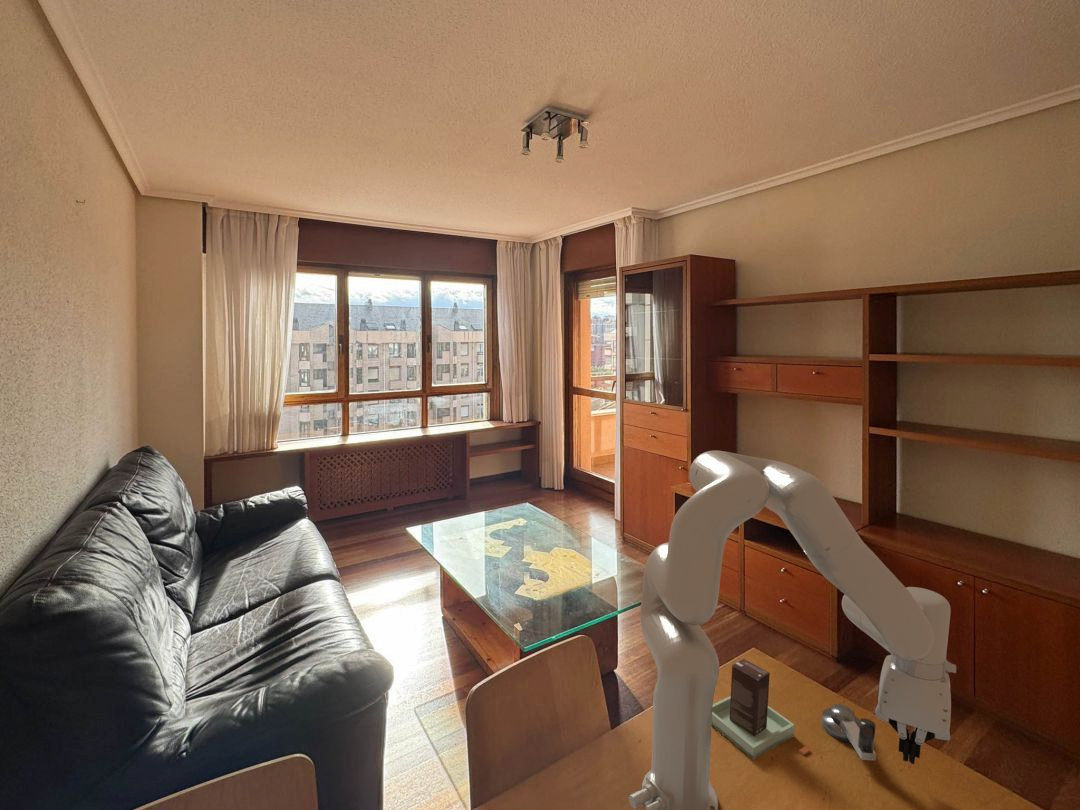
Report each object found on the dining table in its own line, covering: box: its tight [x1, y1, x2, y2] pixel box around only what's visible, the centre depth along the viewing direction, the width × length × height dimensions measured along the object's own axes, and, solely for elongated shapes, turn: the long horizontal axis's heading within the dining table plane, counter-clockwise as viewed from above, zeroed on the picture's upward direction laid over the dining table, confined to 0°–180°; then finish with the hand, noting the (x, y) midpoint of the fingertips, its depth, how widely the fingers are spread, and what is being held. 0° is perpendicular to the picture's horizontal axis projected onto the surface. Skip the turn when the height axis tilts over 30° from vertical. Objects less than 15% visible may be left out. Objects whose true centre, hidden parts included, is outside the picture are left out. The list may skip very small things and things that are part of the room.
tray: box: [712, 695, 795, 761], centre depth 105 cm, size 12×12×2 cm
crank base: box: [798, 707, 861, 756], centre depth 102 cm, size 16×7×2 cm, turn 119°
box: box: [730, 658, 771, 736], centre depth 105 cm, size 6×4×12 cm
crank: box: [830, 703, 877, 762], centre depth 100 cm, size 12×4×6 cm, turn 174°
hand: (908, 757), depth 92 cm, fingers closed
